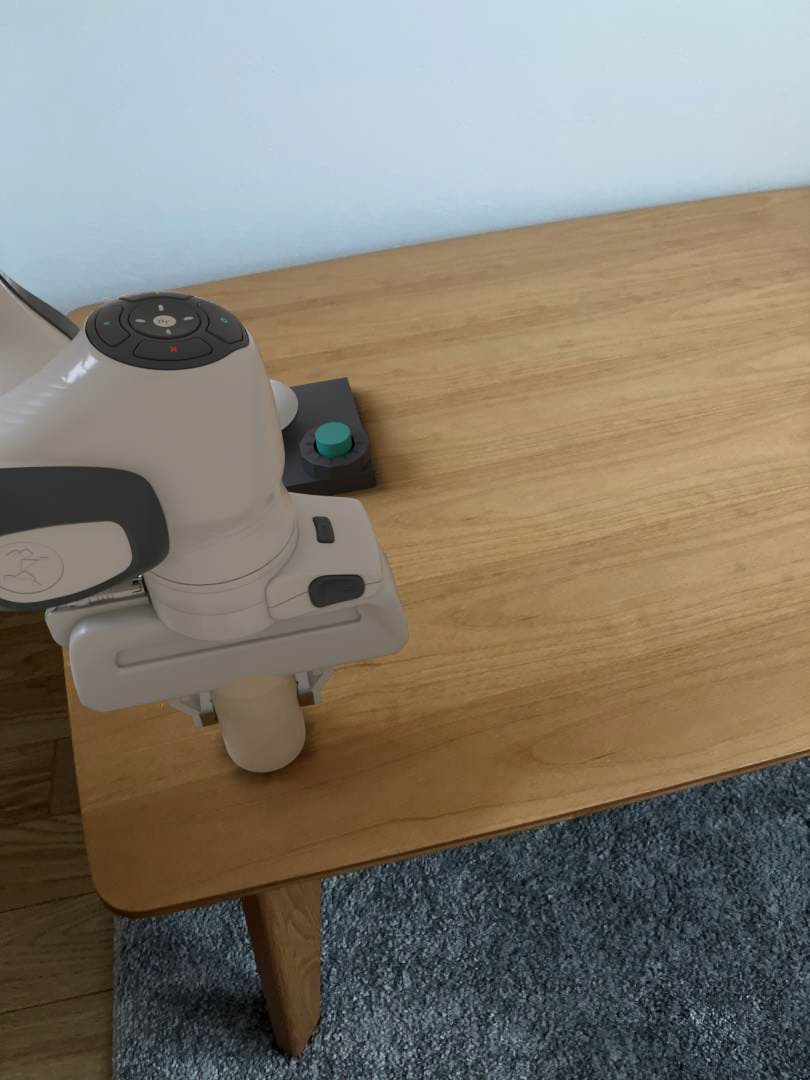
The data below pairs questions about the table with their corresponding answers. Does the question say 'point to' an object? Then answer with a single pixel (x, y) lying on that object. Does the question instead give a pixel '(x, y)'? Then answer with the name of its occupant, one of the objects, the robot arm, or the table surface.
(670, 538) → the table surface
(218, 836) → the table surface
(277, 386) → the silver metal disc
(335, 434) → the button
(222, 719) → the candle
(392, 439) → the table surface
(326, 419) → the scale
